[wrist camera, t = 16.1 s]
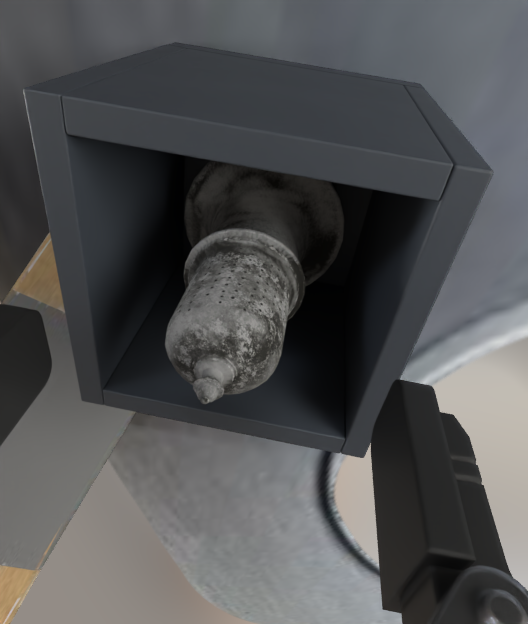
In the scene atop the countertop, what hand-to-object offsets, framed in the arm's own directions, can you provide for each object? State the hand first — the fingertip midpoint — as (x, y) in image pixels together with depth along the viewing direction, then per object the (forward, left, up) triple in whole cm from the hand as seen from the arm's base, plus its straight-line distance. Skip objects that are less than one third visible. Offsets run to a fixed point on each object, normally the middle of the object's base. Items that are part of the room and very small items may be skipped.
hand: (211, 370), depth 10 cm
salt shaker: (0, 0, -11) cm, 11 cm away
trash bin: (0, 0, -12) cm, 12 cm away
